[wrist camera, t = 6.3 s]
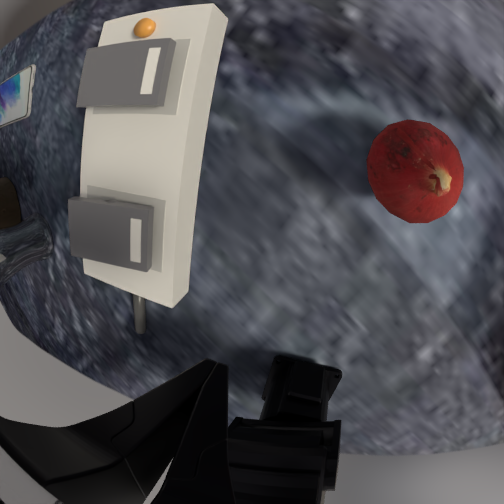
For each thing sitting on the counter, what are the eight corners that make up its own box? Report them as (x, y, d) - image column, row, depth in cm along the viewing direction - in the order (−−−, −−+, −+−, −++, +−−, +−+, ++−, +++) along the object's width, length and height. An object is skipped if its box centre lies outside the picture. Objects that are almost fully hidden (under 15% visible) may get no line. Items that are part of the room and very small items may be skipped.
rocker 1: (167, 107, 16) (156, 104, 15) (88, 107, 17) (75, 107, 15) (179, 44, 15) (169, 37, 13) (99, 52, 15) (86, 48, 14)
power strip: (185, 346, 27) (169, 368, 24) (108, 313, 29) (89, 330, 26) (228, 19, 16) (210, 0, 13) (125, 30, 18) (100, 20, 14)
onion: (343, 164, 18) (353, 173, 11) (397, 108, 16) (437, 85, 8) (399, 224, 18) (435, 269, 11) (451, 171, 16) (511, 187, 9)
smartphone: (28, 117, 23) (-13, 132, 26) (33, 116, 24) (-8, 131, 27) (33, 62, 20) (-10, 89, 23) (38, 62, 21) (-6, 89, 24)
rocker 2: (153, 263, 21) (146, 272, 20) (80, 248, 21) (70, 255, 19) (156, 205, 19) (148, 210, 18) (78, 194, 19) (67, 199, 18)
